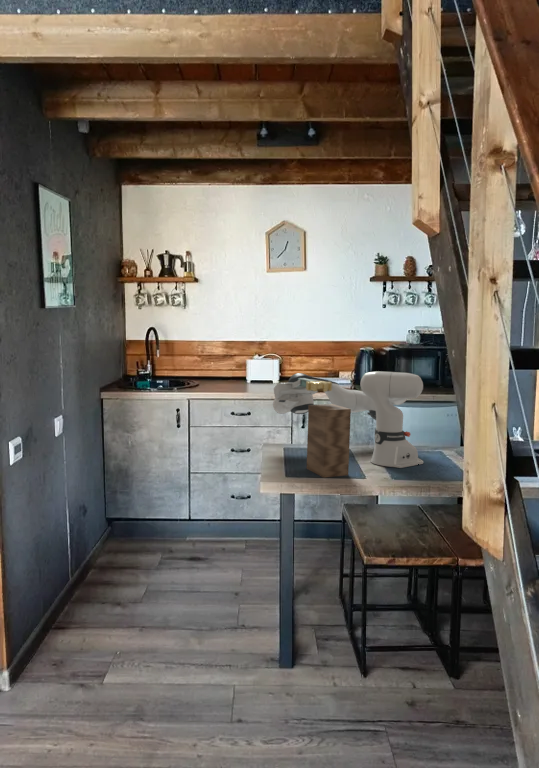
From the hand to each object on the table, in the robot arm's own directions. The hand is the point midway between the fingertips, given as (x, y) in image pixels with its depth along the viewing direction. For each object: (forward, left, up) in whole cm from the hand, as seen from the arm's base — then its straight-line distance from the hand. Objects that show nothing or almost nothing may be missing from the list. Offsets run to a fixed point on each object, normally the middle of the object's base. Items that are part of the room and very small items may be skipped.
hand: (305, 381), depth 239 cm
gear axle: (0, +7, -2) cm, 7 cm away
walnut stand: (-1, +20, -34) cm, 39 cm away
